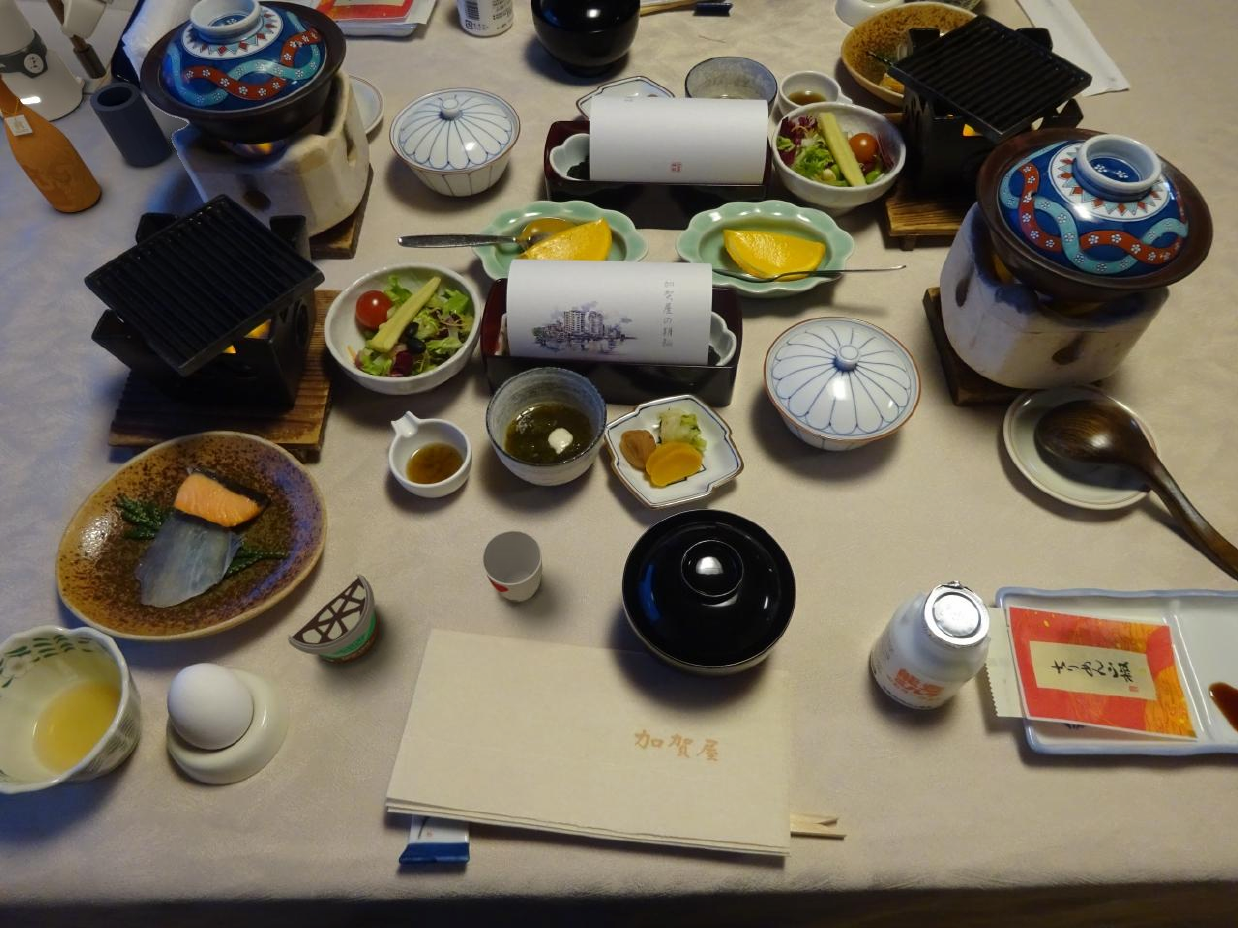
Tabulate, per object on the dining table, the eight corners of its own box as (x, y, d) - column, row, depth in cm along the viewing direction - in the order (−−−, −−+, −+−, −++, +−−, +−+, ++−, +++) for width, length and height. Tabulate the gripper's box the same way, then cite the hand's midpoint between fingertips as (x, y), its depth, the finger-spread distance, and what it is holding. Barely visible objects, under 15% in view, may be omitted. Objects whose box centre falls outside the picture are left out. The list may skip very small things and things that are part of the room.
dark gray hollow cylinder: (115, 157, 164) (79, 101, 153) (150, 134, 169) (117, 77, 158) (145, 173, 162) (111, 116, 151) (180, 149, 166) (149, 92, 155)
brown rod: (84, 75, 150) (30, -13, 136) (98, 66, 151) (46, -22, 137) (96, 81, 149) (43, -8, 135) (110, 72, 150) (59, -17, 136)
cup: (482, 575, 116) (472, 546, 107) (532, 551, 118) (525, 520, 109) (506, 621, 112) (497, 595, 104) (556, 595, 114) (552, 567, 106)
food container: (338, 691, 107) (314, 669, 98) (309, 662, 109) (284, 638, 100) (407, 625, 112) (390, 598, 103) (378, 598, 114) (359, 570, 105)
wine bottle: (40, 209, 156) (-72, 65, 131) (72, 178, 161) (-30, 33, 135) (83, 220, 155) (-22, 76, 129) (114, 188, 160) (18, 43, 134)
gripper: (71, -79, 139) (45, -12, 145) (72, -21, 129) (44, 49, 135) (111, -56, 143) (85, 8, 150) (115, 2, 133) (87, 68, 140)
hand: (66, 28), depth 142 cm, fingers closed on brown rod, 2 cm apart
